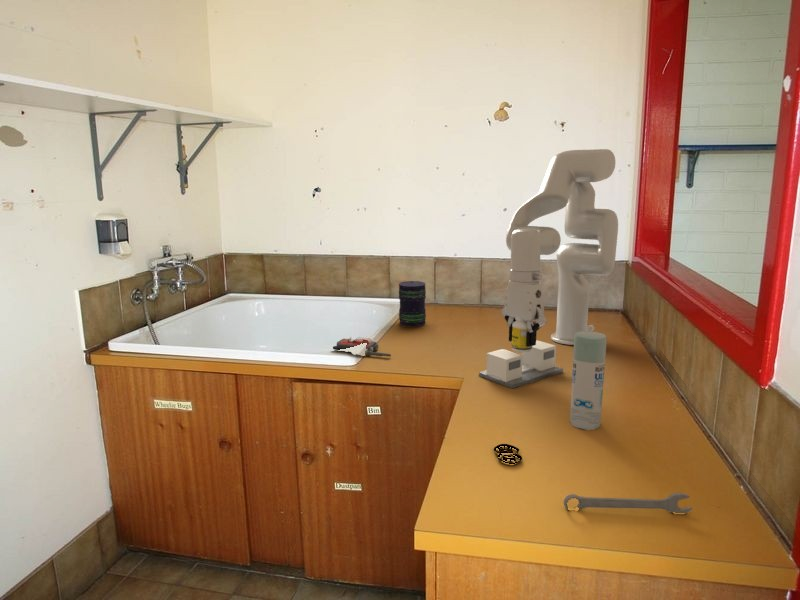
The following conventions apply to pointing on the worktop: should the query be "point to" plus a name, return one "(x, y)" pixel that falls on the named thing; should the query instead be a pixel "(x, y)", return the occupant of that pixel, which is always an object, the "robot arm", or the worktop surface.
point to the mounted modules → (520, 361)
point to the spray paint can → (587, 379)
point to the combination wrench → (632, 503)
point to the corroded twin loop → (508, 452)
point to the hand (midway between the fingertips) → (522, 342)
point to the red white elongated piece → (354, 342)
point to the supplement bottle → (520, 335)
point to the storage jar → (412, 303)
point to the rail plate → (524, 376)
